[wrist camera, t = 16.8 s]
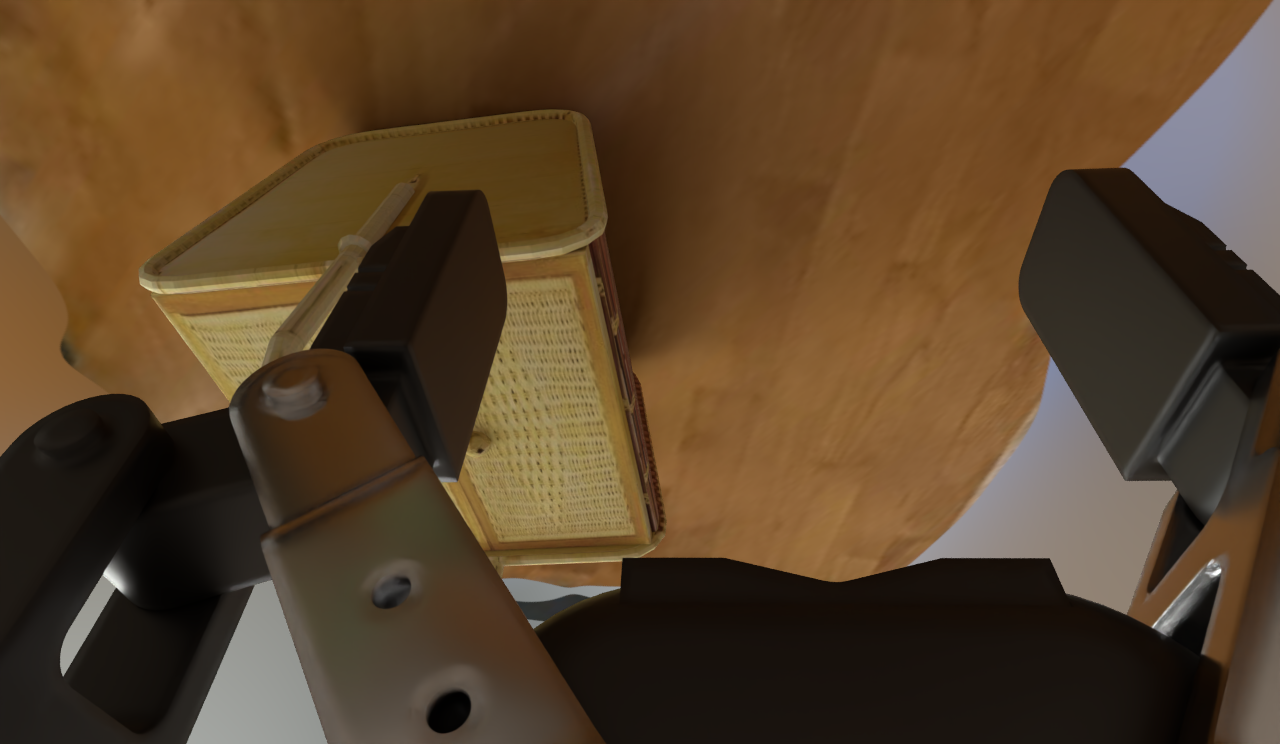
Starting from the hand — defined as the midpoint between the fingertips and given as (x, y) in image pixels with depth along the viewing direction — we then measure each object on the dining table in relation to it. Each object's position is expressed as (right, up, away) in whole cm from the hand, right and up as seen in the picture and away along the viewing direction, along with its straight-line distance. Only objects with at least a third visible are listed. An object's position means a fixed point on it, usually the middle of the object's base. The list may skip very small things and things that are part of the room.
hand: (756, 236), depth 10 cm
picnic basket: (-14, +7, +49) cm, 51 cm away
